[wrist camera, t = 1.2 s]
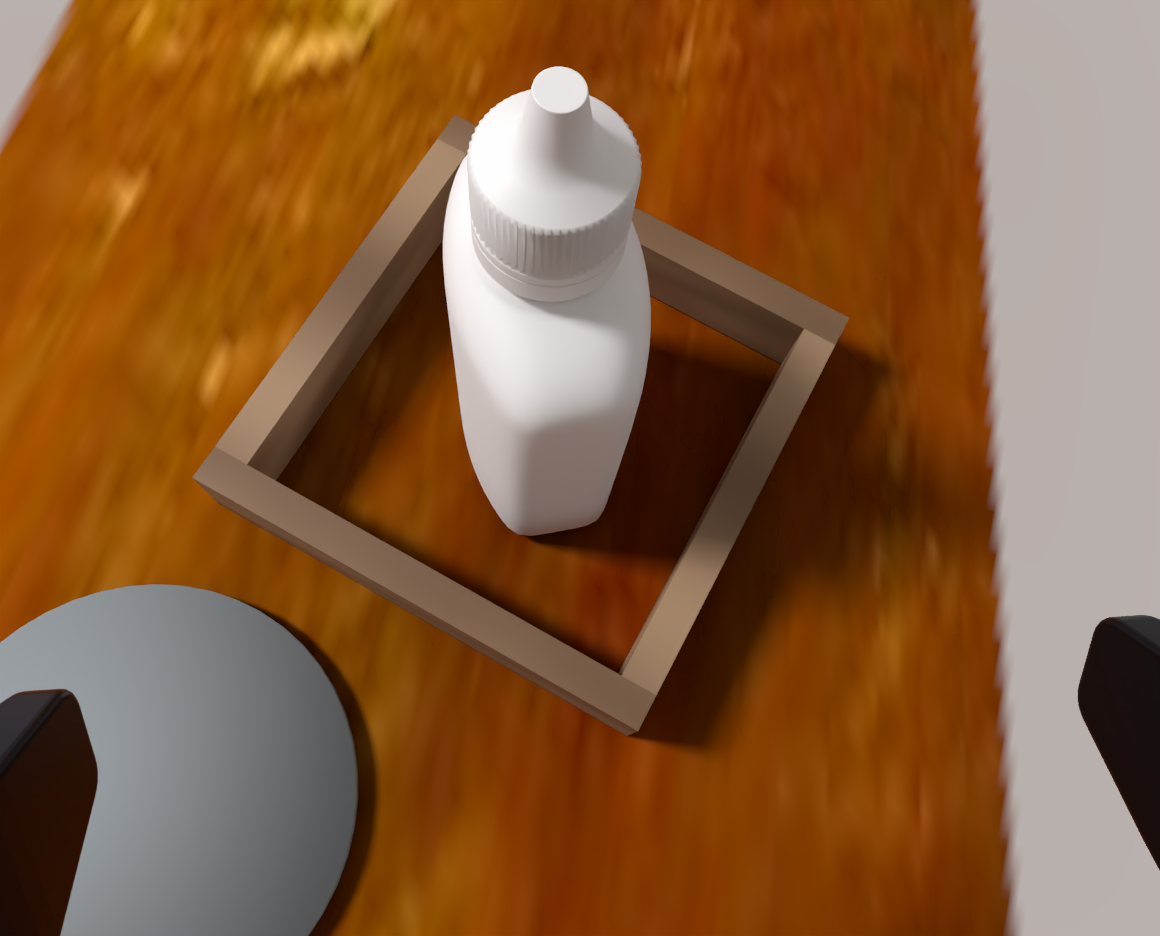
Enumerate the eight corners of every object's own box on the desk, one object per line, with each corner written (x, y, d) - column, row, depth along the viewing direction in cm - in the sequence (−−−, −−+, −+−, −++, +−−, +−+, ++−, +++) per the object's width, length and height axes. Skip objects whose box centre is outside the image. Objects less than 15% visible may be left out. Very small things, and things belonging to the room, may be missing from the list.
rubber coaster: (191, 1141, 19) (184, 1149, 18) (-191, 897, 19) (-205, 900, 19) (438, 715, 21) (437, 713, 21) (95, 516, 22) (88, 511, 22)
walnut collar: (627, 736, 21) (638, 731, 20) (219, 503, 22) (191, 477, 21) (823, 353, 25) (849, 317, 23) (458, 164, 26) (454, 114, 24)
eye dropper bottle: (654, 351, 24) (781, -28, 13) (587, 562, 23) (666, 337, 11) (487, 299, 24) (469, -123, 13) (407, 504, 23) (306, 223, 11)
